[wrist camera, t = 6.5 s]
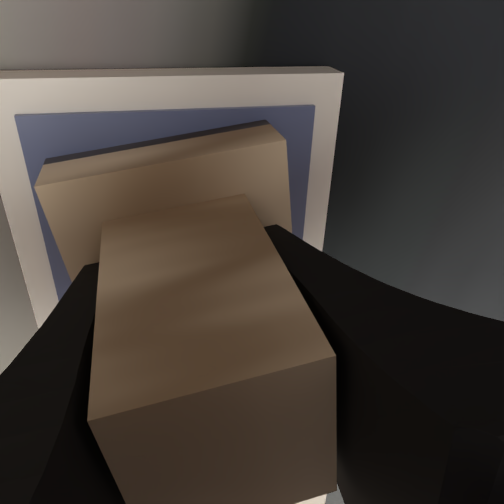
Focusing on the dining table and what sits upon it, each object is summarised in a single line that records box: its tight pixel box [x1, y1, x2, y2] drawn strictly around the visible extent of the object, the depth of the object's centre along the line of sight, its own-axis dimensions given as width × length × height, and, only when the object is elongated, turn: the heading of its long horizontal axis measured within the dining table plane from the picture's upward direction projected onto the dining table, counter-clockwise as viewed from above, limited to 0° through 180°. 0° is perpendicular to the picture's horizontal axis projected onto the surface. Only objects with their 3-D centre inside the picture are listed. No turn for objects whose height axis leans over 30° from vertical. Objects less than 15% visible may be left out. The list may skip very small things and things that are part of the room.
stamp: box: [34, 119, 337, 504], centre depth 9 cm, size 5×5×7 cm
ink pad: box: [0, 66, 344, 329], centre depth 12 cm, size 8×8×1 cm
